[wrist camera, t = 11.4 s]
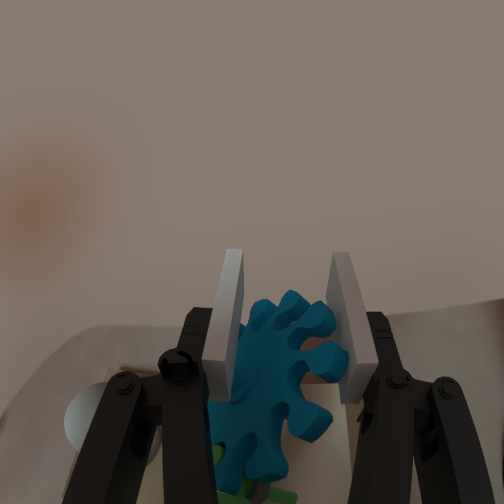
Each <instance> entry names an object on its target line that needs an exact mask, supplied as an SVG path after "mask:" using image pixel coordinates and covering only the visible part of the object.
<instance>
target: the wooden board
mask: <svg viewBox="0 0 504 504" xmlns="http://www.w3.org/2000/svg"><path fill="white" fill-rule="evenodd" d="M122 371H123V370H117V369H111V368H109V369H108V371H107V374H106V376H105V379H104V381H103V382H101V383H97V384H93V385H91V386H89V387H87V388H85V389H83V390H82V391H81V392H79V393H78V394H77V395H76V396H75V397H74V398H73V400H72V401H71V403H70V404H69V406H68V408H67V411H66V414H65V419H64V427H65V433H66V436H67V438H68V440H69V442H70V443H71V445H72V446H73V447H74V448H75V449H76V450H77V452H76V455H75V458H74V461H73V464H72V467H71V470H70V473H69V476H68V479H67V482H66V485H65V489H64V492H63V495H62V497H64V495H65V492H66V489H67V486H68V484H69V481H70V478H71V475H72V472H73V469H74V466H75V464H76V461H77V458H78V455H79V453H80V450H81V447H82V445H83V442H84V439H85V437H86V434H87V432H88V429H89V427H90V424H91V422H92V419H93V417H94V414H95V412H96V409H97V407H98V404H99V402H100V399H101V397H102V395H103V392H104V390H105V388H106V385H107V383H108V381H109V380H110V378H111V377H112V376H113V375H115V374H116V373H119V372H122ZM133 373H135V372H133ZM136 374H137V375H138V376H139V377H140V378H143V377H150V376H155V375H149V374H142V373H136ZM300 388H301V391H302V393H303V395H304V397H305V399H306V401H310V402H313V403H315V404H317V405H319V406H321V407H323V408H324V409H326V410H328V411H329V412H331V414H332V416H333V420H334V421H333V422H332V424H331V425H330V426H329V428H328V429H327V430H326V431H325V433H324V434H323V435H322V436H321V437H320V438H319V439H317V440H316V441H315V442H313V443H309V442H307V441H304V440H302V439H299V438H297V437H294V436H293V435H291V434H290V432H289V430H288V420H286V419H284V422H283V427H282V432H281V447H282V452H283V454H284V457H285V458H286V460H287V461H288V464H289V471H288V475H287V477H286V478H284V479H281V480H279V481H276V482H273V483H271V486H270V487H274V488H278V489H283V490H287V491H291V492H295V493H296V494H297V495H298V500H297V502H296V503H295V504H347V502H348V497H349V492H350V487H351V481H352V475H353V469H354V463H355V457H356V450H357V443H358V435H359V427H360V421H359V423H358V422H356V421H357V418H358V416H359V415H360V413H361V411H362V409H363V407H364V402H363V397H362V399H361V401H360V403H359V404H344V405H341V403H340V394H339V385H338V383H332V384H300ZM217 492H220V491H217ZM222 493H223V492H222ZM226 494H227V493H226ZM136 504H164V492H163V466H162V425H157V429H156V432H155V436H154V439H153V443H152V446H151V450H150V454H149V457H148V461H147V465H146V468H145V472H144V476H143V479H142V483H141V487H140V491H139V495H138V498H137V502H136ZM262 504H280V503H275V502H270V501H264V502H263V503H262Z"/></svg>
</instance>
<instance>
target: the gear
mask: <svg viewBox="0 0 504 504" xmlns="http://www.w3.org/2000/svg"><path fill="white" fill-rule="evenodd" d="M295 321H296V322H295ZM293 322H295V323H293ZM291 323H293V324H292V325H290V324H291ZM289 325H290V326H289ZM335 330H336V318H335V315H334V313H333V311H332V310H331V309H330V308H329V307H328V306H326V305H325V304H324V303H323V302H322V301H317V302H315V303H314V304H312V305H310V303H309V302H308V301H306V300H305V299H304V298H303V297H302V296H301V295H299V294H298V293H297V292H295V291H293V290H289V291H288V292H287V293H286V294H285V295H284V296H283V298H282V299H281V301H280V304H279V306H278V307H277V306H275V305H274V304H273V303H272V302H271V301H269V300H268V299H262V300H259V301H257V302H255V303H254V305H253V306H252V308H251V310H250V317H249V321H248V324H247V326H246V327H245V326H244V325H242V324H241V323H240V328H239V335H238V343H237V350H236V358H235V365H234V373H233V381H232V388H231V396H230V403H228V402H217V401H210V398H208V404H207V407H208V412H209V423H210V433H211V443H212V453H213V462H214V470H215V479H216V487H217V491H220V492H217V495H218V502H219V504H262V503H263V502H264V501H270V502H275V503H280V504H295V503H296V502H297V500H298V495H297V494H296V493H295V492H291V491H287V490H283V489H278V488H274V487H270V486H271V483H273V482H276V481H279V480H281V479H284V478H286V477H287V475H288V471H289V464H288V461H287V460H286V458H285V457H284V454H283V452H282V447H281V432H282V427H283V422H284V419H286V420H288V430H289V432H290V434H291V435H293V436H294V437H297V438H299V439H302V440H304V441H307V442H309V443H313V442H315V441H316V440H317V439H319V438H320V437H321V436H322V435H323V434H324V433H325V431H326V430H327V429H328V428H329V426H330V425H331V424H332V422H333V421H334V420H333V416H332V414H331V412H329V411H328V410H326V409H324V408H323V407H321V406H319V405H317V404H315V403H313V402H310V401H306V399H305V397H304V395H303V393H302V391H301V388H300V383H301V380H302V378H303V376H304V375H305V374H306V373H307V372H308V371H310V370H311V371H312V372H313V373H314V374H316V375H317V376H319V377H320V378H322V379H323V380H325V381H327V382H329V383H335V382H338V381H340V380H341V378H342V376H343V374H344V372H345V369H346V366H347V361H348V352H346V351H345V350H344V349H343V348H341V347H340V346H339V345H338V344H336V343H335V342H332V341H328V342H325V343H322V344H321V345H319V346H318V347H315V348H313V349H311V350H307V351H299V350H300V347H301V345H302V343H303V342H304V341H305V340H306V339H307V338H309V337H319V338H325V337H327V336H329V335H331V334H332V333H333V332H334V331H335ZM222 492H223V493H222ZM226 493H227V494H226Z"/></svg>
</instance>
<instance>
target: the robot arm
mask: <svg viewBox="0 0 504 504" xmlns="http://www.w3.org/2000/svg"><path fill="white" fill-rule="evenodd" d="M243 297H244V274H243V249H227V251H226V256H225V260H224V264H223V268H222V272H221V276H220V281H219V285H218V289H217V294H216V298H215V302H214V306H213V308H200V307H194V308H193V309H192V310H191V311H190V312H189V313H188V314H187V316H186V319H185V322H184V327H183V329H182V332H181V335H180V339H179V342H178V345H177V348H174V349H170V350H168V351H166V352H164V353H163V354H162V355H161V357H160V358H159V361H158V367H159V369H160V372H161V374H159V375H155V376H150V377H143V378H140V377H139V376H138V375H137V374H136V373H133V372H130V371H122V372H119V373H116V374H115V375H113V376H112V377H111V378H110V380H109V381H108V383H107V385H106V388H105V390H104V392H103V395H102V397H101V399H100V402H99V404H98V407H97V409H96V412H95V414H94V417H93V419H92V422H91V424H90V427H89V429H88V432H87V434H86V437H85V439H84V442H83V445H82V447H81V450H80V453H79V455H78V458H77V461H76V464H75V466H74V469H73V472H72V475H71V478H70V481H69V484H68V486H67V489H66V492H65V495H64V499H63V502H62V504H136V502H137V498H138V495H139V491H140V487H141V483H142V479H143V476H144V472H145V468H146V465H147V461H148V457H149V454H150V450H151V446H152V443H153V439H154V436H155V432H156V429H157V425H162V466H163V492H164V504H219V502H218V495H217V487H216V479H215V470H214V462H213V453H212V443H211V433H210V423H209V412H208V407H207V404H208V398H210V401H217V402H228V403H230V396H231V388H232V381H233V373H234V365H235V358H236V350H237V343H238V335H239V328H240V320H241V312H242V305H243ZM326 299H327V306H328V307H329V308H330V309H331V310H332V311H333V313H334V315H335V318H336V330H335V331H334V332H333V333H332V339H333V342H335V343H336V344H338V345H339V346H340V347H341V348H343V349H344V350H345V351H346V352H348V361H347V366H346V369H345V372H344V374H343V376H342V378H341V380H340V381H338V385H339V394H340V403H341V405H344V404H359V403H360V401H361V399H362V397H363V401H364V407H363V409H362V411H361V413H360V415H359V416H358V418H357V421H356V422H358V423H359V421H360V427H359V435H358V443H357V450H356V457H355V463H354V469H353V475H352V481H351V487H350V492H349V497H348V502H347V504H409V501H410V492H411V480H412V466H413V456H414V460H415V466H416V471H417V476H418V482H419V487H420V493H421V500H422V504H495V500H494V496H493V491H492V487H491V482H490V478H489V474H488V470H487V466H486V463H485V459H484V455H483V452H482V448H481V445H480V442H479V438H478V435H477V432H476V429H475V426H474V423H473V420H472V417H471V414H470V411H469V408H468V405H467V402H466V400H465V397H464V394H463V391H462V389H461V387H460V385H459V383H458V382H457V381H455V380H454V379H452V378H450V377H440V378H437V379H436V380H435V381H434V383H429V382H425V381H420V380H416V379H414V378H412V376H411V375H410V374H409V372H408V371H406V370H405V369H403V367H402V364H401V360H400V357H399V354H398V350H397V347H396V343H395V340H394V339H393V334H392V331H391V327H390V324H389V321H388V319H387V318H386V317H385V316H384V315H383V313H382V312H366V311H365V307H364V303H363V300H362V296H361V293H360V290H359V286H358V283H357V280H356V276H355V273H354V270H353V266H352V263H351V260H350V256H349V254H348V253H336V252H334V253H333V257H332V263H331V270H330V275H329V281H328V287H327V293H326Z"/></svg>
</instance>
